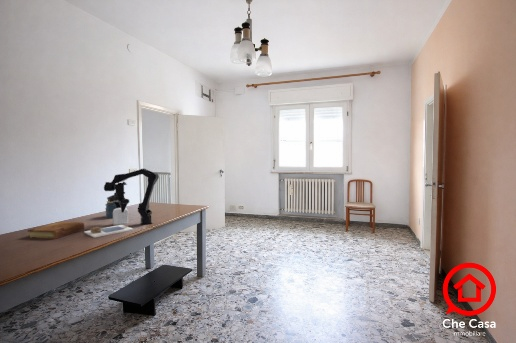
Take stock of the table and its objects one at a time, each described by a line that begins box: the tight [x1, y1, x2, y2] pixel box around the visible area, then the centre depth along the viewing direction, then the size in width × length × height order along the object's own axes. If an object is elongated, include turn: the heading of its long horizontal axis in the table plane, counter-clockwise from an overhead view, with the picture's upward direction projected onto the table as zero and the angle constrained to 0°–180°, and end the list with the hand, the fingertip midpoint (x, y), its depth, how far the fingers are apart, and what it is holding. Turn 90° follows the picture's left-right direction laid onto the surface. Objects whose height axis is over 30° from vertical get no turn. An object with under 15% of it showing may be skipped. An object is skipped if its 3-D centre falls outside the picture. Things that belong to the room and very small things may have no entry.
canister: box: [104, 200, 121, 219], centre depth 223 cm, size 13×13×18 cm
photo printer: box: [112, 207, 129, 226], centre depth 199 cm, size 10×4×12 cm, turn 124°
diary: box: [27, 221, 85, 240], centre depth 173 cm, size 23×19×6 cm
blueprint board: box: [83, 224, 134, 238], centre depth 179 cm, size 24×18×4 cm
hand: (120, 211), depth 199 cm, fingers open, 8 cm apart
